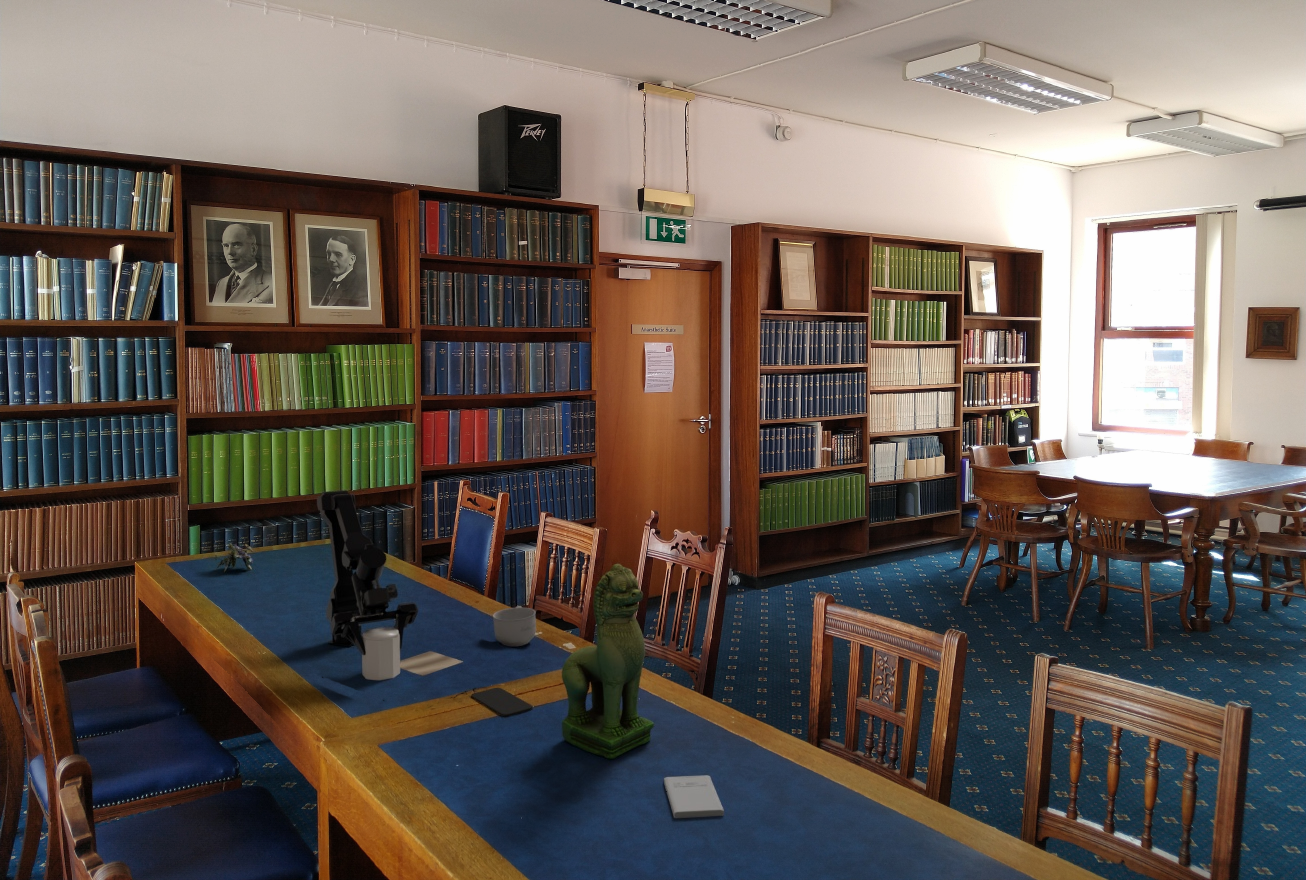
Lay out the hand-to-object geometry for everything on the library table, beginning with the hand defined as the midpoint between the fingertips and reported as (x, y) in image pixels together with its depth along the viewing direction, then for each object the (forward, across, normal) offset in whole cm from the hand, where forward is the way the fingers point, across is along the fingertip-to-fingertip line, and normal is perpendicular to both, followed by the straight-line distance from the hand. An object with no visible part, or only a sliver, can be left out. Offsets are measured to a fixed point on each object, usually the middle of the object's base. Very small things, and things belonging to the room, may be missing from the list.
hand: (382, 651), depth 207 cm
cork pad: (+3, +11, +7) cm, 14 cm away
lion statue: (+42, +28, -32) cm, 60 cm away
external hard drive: (+62, +29, -51) cm, 86 cm away
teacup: (-3, +38, +14) cm, 40 cm away
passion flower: (-84, -13, +95) cm, 127 cm away
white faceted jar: (+3, 0, +5) cm, 6 cm away
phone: (+23, +18, -12) cm, 31 cm away
